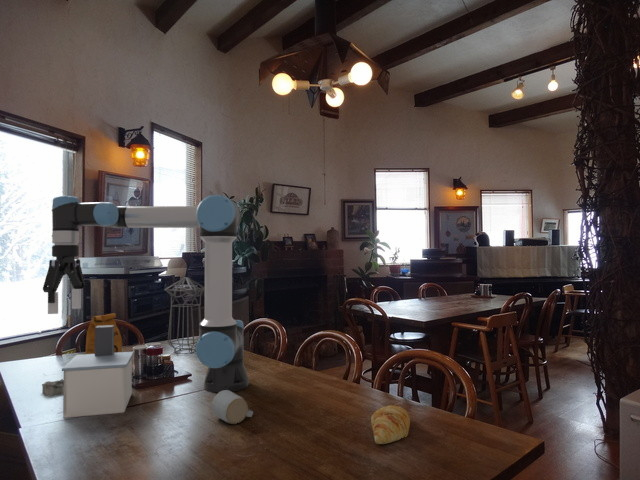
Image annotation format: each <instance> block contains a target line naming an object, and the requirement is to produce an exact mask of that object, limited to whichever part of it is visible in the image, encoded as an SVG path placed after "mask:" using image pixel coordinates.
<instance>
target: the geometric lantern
mask: <svg viewBox="0 0 640 480" xmlns="http://www.w3.org/2000/svg"><path fill="white" fill-rule="evenodd" d="M185 282H186V283H187V286H188V288H184V284H185ZM197 285H198V286H199V287H198V286H197ZM170 288H171V289H170ZM193 288H194V289H193ZM164 291H165V292H166V293H167V294H168V295H169V296H170V311H169V321H168V322H169V324H168V332H167V334H168V336H167V344H168V345H169V346H170V347H171V348H173V351H174V352H173V353H174V354H177V353H178V352H179V351H182V350H181V349H189V350H188V353H190V354H193V353H195V352H196V345H197V342H198V340H199V338H200V323H201V322H202V313H201V305H202V302H201V300H202V294H204V293H205V285H204V286H203V285H202V284H200V283H198V282H196V281H195V280H193V279H191V278H189V277H183V278H181V279H180V280H178V281H176V282H175V283H172V284H171V285H169V286H167V287H165V288H164ZM193 291H194V294H192V293H193ZM172 292H173V293H172ZM177 292H179V293H180V295H177ZM182 292H184V293H183V294H182ZM189 292H190V293H189ZM185 295H188V296H187V298H186V299H185V298H184V296H185ZM190 296H192V297H194V298H193V300H192V302H191V303H188V302H187V301H188V299H189V298H190ZM173 297H174V298H173ZM196 297H197V298H198V297H199V303H198V300H197V298H196ZM177 298H182V300H183V301H184V302H183V303H180V302H179V300H178V299H177ZM175 300H176V302H177V303H178V304H173V303H174V301H175ZM194 301H196V303H195V304H194V303H193V302H194ZM197 306H198V336H199V337H198V339H197V338H195V333H194V331H195V330H194V316H193V315H194V312H193V307H197ZM173 307H176V308H178V318H177V320H178V322H177V336H176V339H175V340H172V324H173V323H172V321H173V319H172V318H173ZM181 308H182V334H181V335H182V338H180V339H179V333H180V331H179V330H180V319H181V318H180V317H181V313H180V312H181ZM185 308H186V318H187V321H186V323H187V325H186V326H187V327H186V328H187V331H186V332H187V338H184V334H185V331H184V330H185V328H184V327H185ZM189 308H190V309H191V310H190V312H191V313H190V315H191V326H192V327H191V330H192V331H191V332H192V338H189V336H190V333H189V325H190V324H189V323H190V322H189ZM180 341H181V343H180ZM184 341H187V343H184ZM189 341H192V342H190V343H189ZM176 342H177V343H176ZM174 345H176V346H174ZM177 345H179V346H177ZM187 347H188V348H187ZM194 351H195V352H194Z"/></svg>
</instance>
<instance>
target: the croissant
mask: <svg viewBox="0 0 640 480" xmlns="http://www.w3.org/2000/svg"><path fill="white" fill-rule="evenodd" d="M370 419H371V421H370V422H371V430H372V432H373V433H372V434H373V438H374V442H375V444H378V445H385V444H390V443H393V442H397V441H399V440H402V439H403V438H406V437H408V435H409V430H410V425H411V419H410V414H409V412H408V411H407V410H406V409H405V408H403V407H401V406H400V405H398V404H389V405H384V406H382V407H379V408H378V409H377V410H376V411H374V412H373V414H372V415H371V418H370ZM401 438H402V439H401Z"/></svg>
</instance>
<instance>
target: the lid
mask: <svg viewBox="0 0 640 480" xmlns="http://www.w3.org/2000/svg"><path fill="white" fill-rule="evenodd" d="M134 354H135V353H134V351H122V352H118V353H114V325H104V326H97V327H95V354H86V353H85V354H83V353H82V354H76V355H75V356H74V357H72V359H71V360H69V361H68V362H67V363H66V364H65V365H63V367H62V368H61V372H64V371H73V370H88V369H104V368H119V367H127V365H128V363H129V361H130V360H131V358H132V359H133V355H134Z"/></svg>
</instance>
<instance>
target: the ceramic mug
mask: <svg viewBox="0 0 640 480" xmlns="http://www.w3.org/2000/svg"><path fill="white" fill-rule="evenodd" d="M211 412H212V414H213V415H214V416H215V417H217V418H218V419H220V420H222V421H224V422H226V423H227V424H231V425H237V423H238V424H239V423H241V422H242V421H244V419H246V418H247V417H248V418H252V417H253V415H254V411H253V410H251V409H250V408H249V407H248V403H247V401H246V400H245V399H244V398H243V397H242V396H240V395H238V394H236V393H235V392H234V391H233V392H231V391H229V390H223V391H221V392H217V393H216V395H214V397H213V399H212V402H211Z"/></svg>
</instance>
